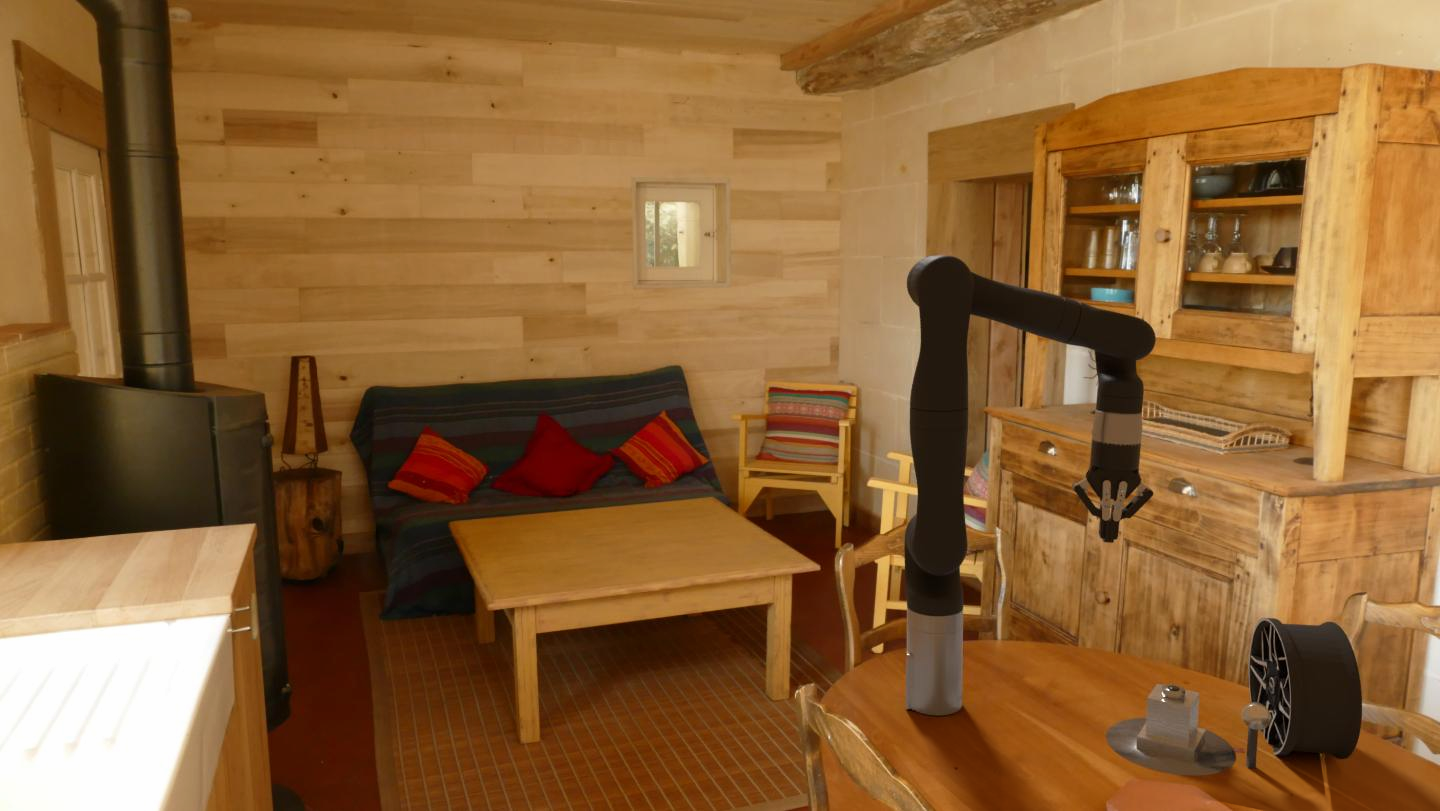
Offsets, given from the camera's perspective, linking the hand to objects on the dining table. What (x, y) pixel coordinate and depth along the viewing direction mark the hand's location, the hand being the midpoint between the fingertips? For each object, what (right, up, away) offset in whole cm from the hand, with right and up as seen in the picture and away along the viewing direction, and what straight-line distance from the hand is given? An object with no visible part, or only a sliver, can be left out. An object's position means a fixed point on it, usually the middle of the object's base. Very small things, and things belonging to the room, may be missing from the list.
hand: (1108, 541), depth 169 cm
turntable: (+4, -30, -14) cm, 33 cm away
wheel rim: (+23, -30, -14) cm, 40 cm away
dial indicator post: (+13, -31, -21) cm, 39 cm away
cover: (+4, -29, -14) cm, 33 cm away
